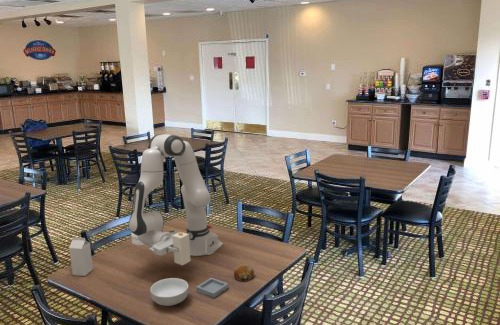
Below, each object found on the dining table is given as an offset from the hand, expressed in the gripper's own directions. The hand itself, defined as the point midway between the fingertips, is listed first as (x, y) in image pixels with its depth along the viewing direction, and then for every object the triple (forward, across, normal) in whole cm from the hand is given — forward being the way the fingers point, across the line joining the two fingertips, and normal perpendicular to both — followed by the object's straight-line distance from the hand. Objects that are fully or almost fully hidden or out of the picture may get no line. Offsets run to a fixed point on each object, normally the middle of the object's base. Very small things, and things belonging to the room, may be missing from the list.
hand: (182, 247), depth 205 cm
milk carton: (-49, -24, +17) cm, 57 cm away
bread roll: (+22, +18, +17) cm, 34 cm away
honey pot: (-55, +20, +17) cm, 61 cm away
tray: (+18, 0, +17) cm, 25 cm away
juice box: (-1, 0, +8) cm, 8 cm away
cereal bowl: (+9, -18, +17) cm, 26 cm away
